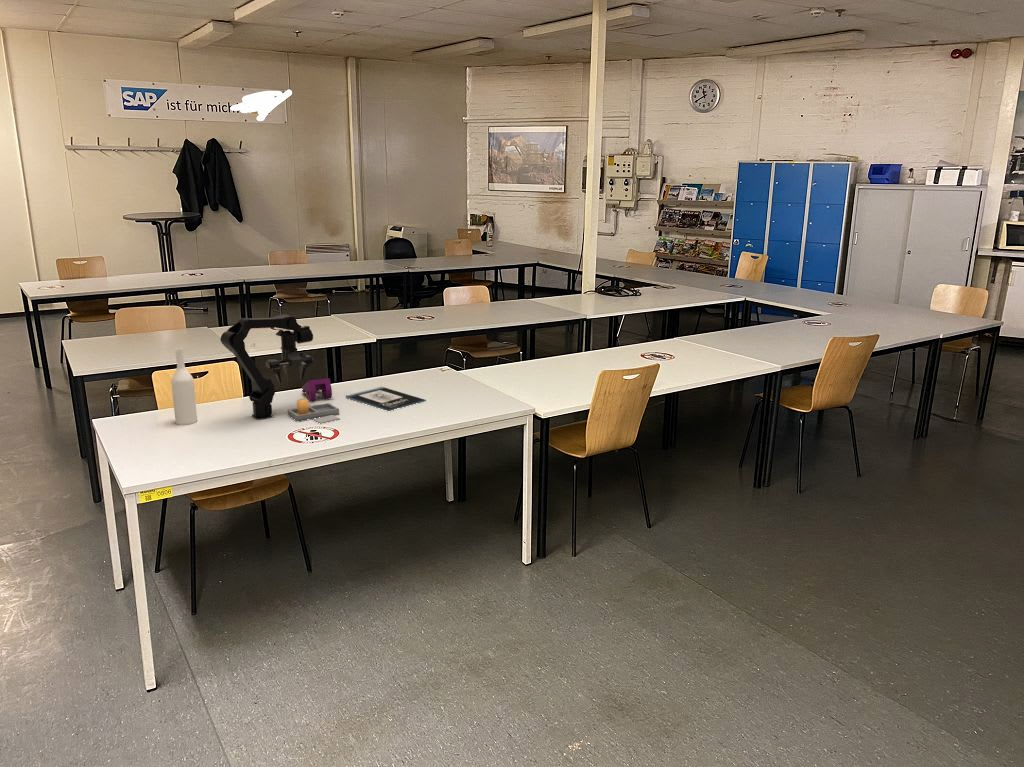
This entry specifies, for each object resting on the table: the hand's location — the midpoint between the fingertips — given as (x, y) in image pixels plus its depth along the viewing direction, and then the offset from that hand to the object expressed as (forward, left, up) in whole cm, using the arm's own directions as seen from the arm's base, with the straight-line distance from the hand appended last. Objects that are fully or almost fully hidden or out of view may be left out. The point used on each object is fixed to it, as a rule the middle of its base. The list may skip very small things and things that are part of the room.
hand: (290, 381), depth 319 cm
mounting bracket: (+16, +13, -12) cm, 24 cm away
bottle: (-41, +7, -12) cm, 43 cm away
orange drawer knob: (0, -13, -11) cm, 17 cm away
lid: (+6, -22, -13) cm, 26 cm away
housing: (+4, -13, -12) cm, 18 cm away
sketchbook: (+39, -9, -13) cm, 42 cm away
